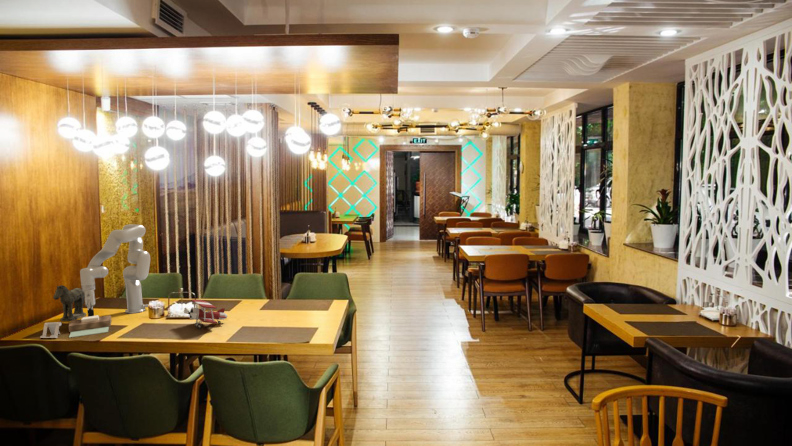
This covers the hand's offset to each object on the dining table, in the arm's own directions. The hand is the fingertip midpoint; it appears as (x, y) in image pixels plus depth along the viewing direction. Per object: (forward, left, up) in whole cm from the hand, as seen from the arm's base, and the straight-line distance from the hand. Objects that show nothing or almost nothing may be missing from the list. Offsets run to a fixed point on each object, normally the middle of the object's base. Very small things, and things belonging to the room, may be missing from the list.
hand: (91, 315), depth 333 cm
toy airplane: (-65, +47, -5) cm, 80 cm away
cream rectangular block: (0, +8, -1) cm, 8 cm away
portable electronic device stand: (+19, +20, -6) cm, 28 cm away
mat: (0, +21, -5) cm, 22 cm away
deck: (0, +8, -5) cm, 9 cm away
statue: (+14, -19, -5) cm, 24 cm away
